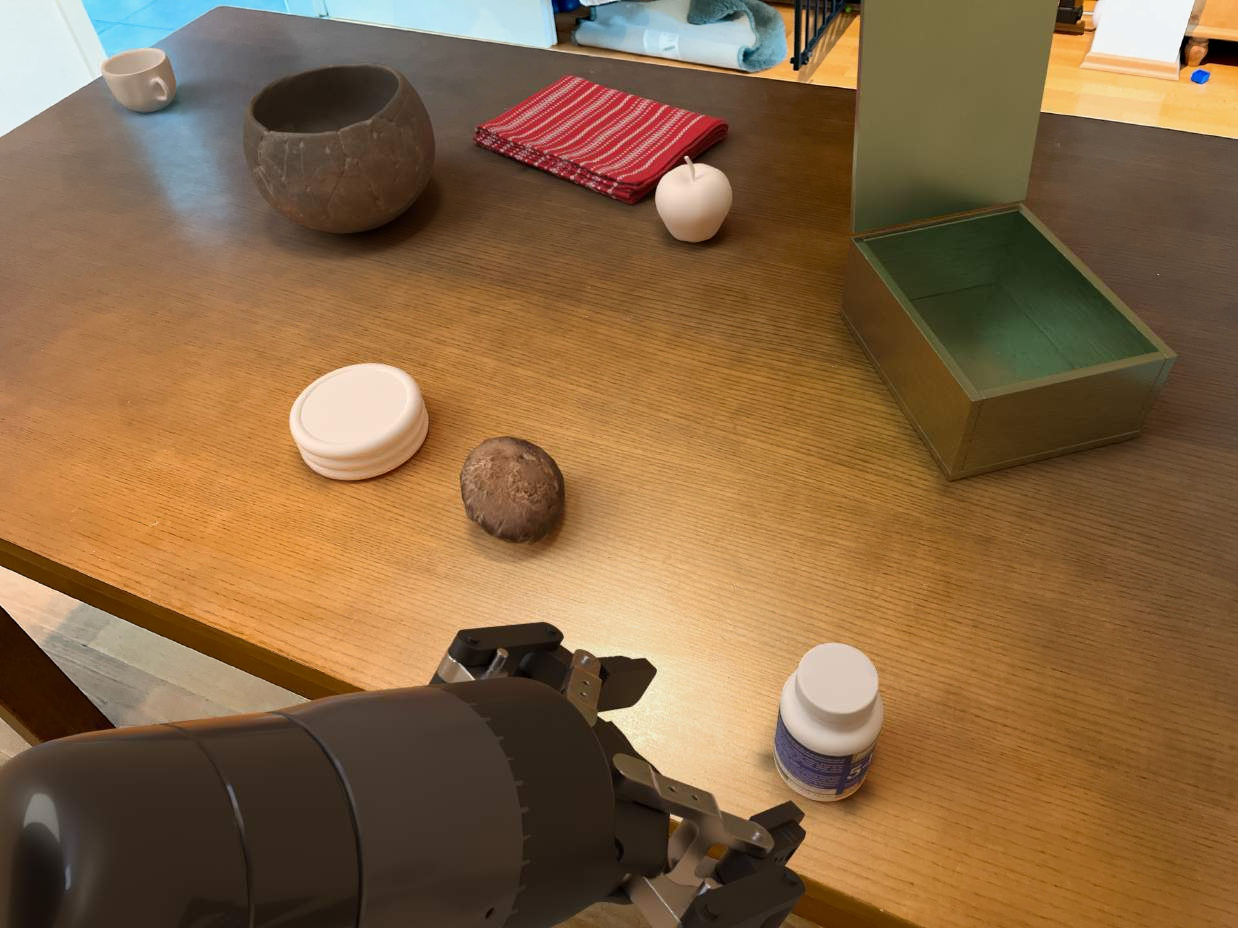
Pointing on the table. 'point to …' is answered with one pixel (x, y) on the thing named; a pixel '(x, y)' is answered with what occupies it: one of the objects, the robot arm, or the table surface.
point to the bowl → (339, 146)
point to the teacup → (141, 79)
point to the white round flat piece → (359, 421)
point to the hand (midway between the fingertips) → (710, 748)
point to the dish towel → (600, 137)
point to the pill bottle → (828, 722)
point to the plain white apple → (693, 201)
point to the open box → (999, 340)
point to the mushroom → (512, 490)
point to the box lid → (946, 106)
